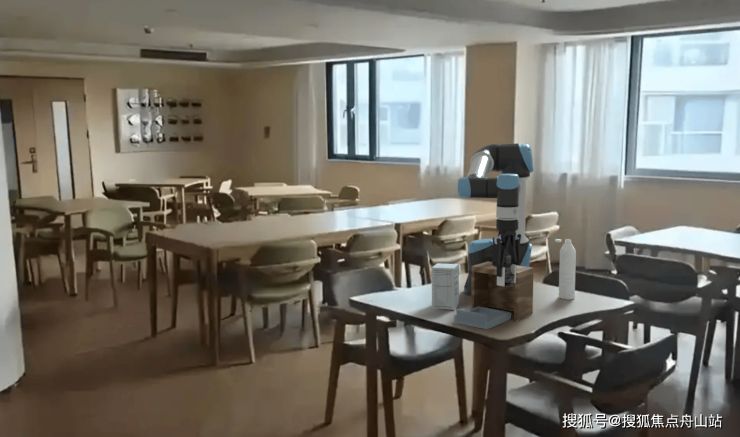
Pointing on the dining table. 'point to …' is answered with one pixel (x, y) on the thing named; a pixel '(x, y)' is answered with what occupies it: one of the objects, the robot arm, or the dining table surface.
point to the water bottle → (567, 270)
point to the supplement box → (445, 286)
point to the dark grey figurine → (508, 271)
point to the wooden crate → (502, 290)
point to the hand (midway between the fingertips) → (506, 283)
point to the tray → (481, 317)
